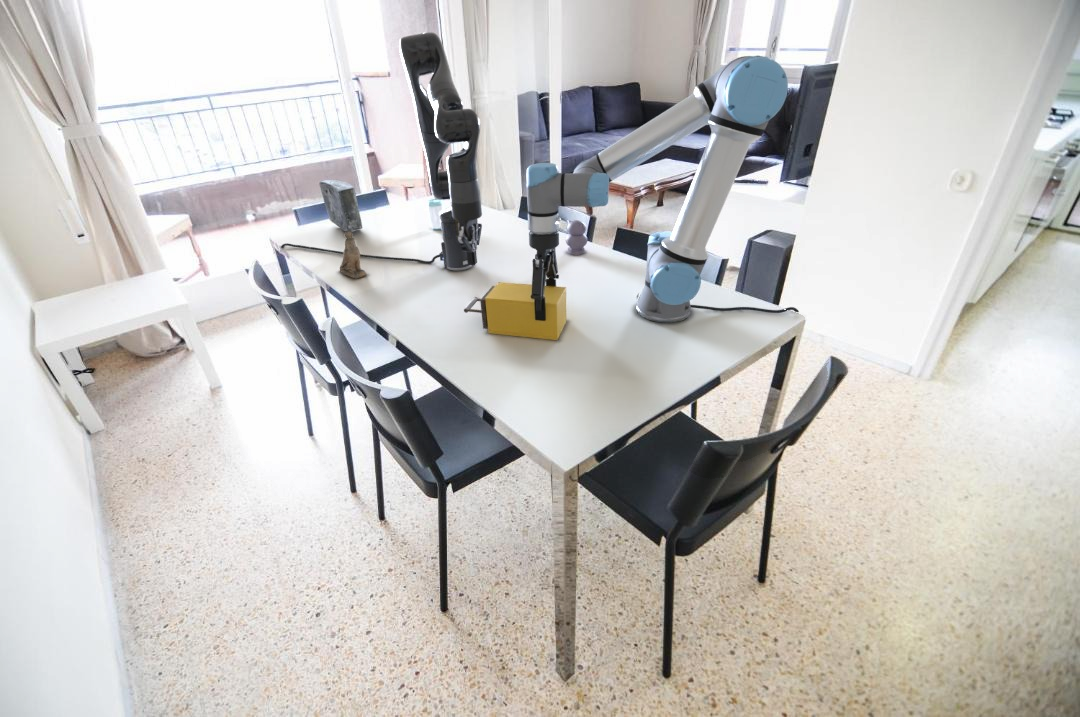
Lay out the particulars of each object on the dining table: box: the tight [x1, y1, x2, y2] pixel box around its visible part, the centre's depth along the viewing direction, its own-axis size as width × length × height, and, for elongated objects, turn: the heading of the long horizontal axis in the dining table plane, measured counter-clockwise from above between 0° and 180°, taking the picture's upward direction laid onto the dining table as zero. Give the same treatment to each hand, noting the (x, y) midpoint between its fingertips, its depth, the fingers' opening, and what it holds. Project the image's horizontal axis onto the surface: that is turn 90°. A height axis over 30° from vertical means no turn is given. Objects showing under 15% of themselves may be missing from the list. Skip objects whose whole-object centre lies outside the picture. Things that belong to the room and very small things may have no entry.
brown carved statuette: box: [339, 230, 367, 280], centre depth 174 cm, size 12×6×18 cm, turn 43°
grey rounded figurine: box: [565, 219, 588, 256], centre depth 186 cm, size 8×8×12 cm
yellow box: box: [485, 281, 567, 341], centre depth 136 cm, size 20×11×11 cm, turn 75°
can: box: [426, 198, 445, 230], centre depth 220 cm, size 7×7×12 cm
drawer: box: [463, 285, 496, 330], centre depth 137 cm, size 24×10×9 cm, turn 75°
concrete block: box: [318, 178, 363, 233], centre depth 220 cm, size 27×9×20 cm, turn 36°
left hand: (472, 264), depth 133 cm, fingers closed
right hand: (546, 310), depth 134 cm, fingers closed on yellow box, 11 cm apart
